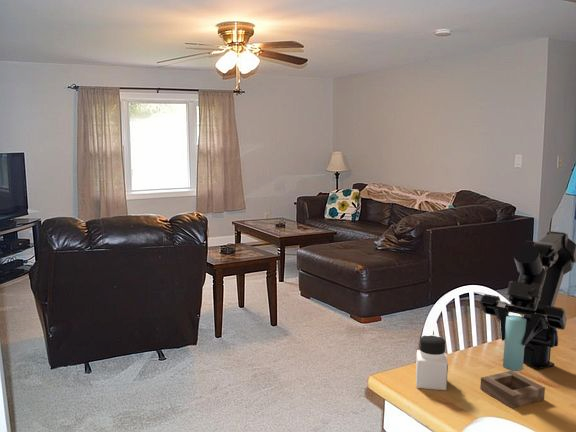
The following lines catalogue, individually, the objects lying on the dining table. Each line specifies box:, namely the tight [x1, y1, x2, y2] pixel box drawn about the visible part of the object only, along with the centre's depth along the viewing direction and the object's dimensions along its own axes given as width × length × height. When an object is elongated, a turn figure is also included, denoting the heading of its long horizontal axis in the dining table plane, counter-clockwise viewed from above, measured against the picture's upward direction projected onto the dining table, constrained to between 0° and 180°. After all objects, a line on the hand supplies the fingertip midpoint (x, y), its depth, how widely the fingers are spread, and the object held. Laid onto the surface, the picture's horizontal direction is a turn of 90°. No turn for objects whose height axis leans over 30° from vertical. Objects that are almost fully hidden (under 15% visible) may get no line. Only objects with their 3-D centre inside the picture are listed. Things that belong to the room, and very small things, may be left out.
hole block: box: [479, 370, 546, 409], centre depth 129 cm, size 10×10×3 cm
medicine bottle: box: [415, 334, 449, 391], centre depth 134 cm, size 7×7×12 cm
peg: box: [502, 314, 526, 372], centre depth 127 cm, size 4×4×12 cm
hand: (512, 342), depth 126 cm, fingers closed on peg, 4 cm apart
